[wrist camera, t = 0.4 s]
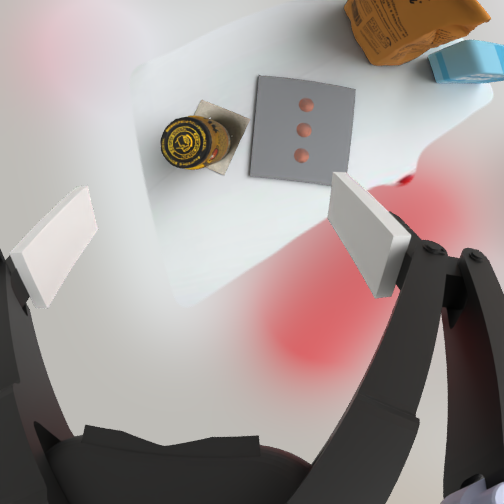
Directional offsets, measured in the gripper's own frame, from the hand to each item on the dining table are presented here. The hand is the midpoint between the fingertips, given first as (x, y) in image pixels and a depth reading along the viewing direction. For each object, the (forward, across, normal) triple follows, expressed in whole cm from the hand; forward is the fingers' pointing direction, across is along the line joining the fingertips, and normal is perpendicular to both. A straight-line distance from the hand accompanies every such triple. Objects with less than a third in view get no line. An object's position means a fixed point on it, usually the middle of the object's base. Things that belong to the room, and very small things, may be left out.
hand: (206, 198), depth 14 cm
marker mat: (+24, +11, 0) cm, 27 cm away
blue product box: (+24, +36, +13) cm, 46 cm away
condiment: (+26, -1, -2) cm, 26 cm away
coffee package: (+27, +23, +16) cm, 39 cm away
